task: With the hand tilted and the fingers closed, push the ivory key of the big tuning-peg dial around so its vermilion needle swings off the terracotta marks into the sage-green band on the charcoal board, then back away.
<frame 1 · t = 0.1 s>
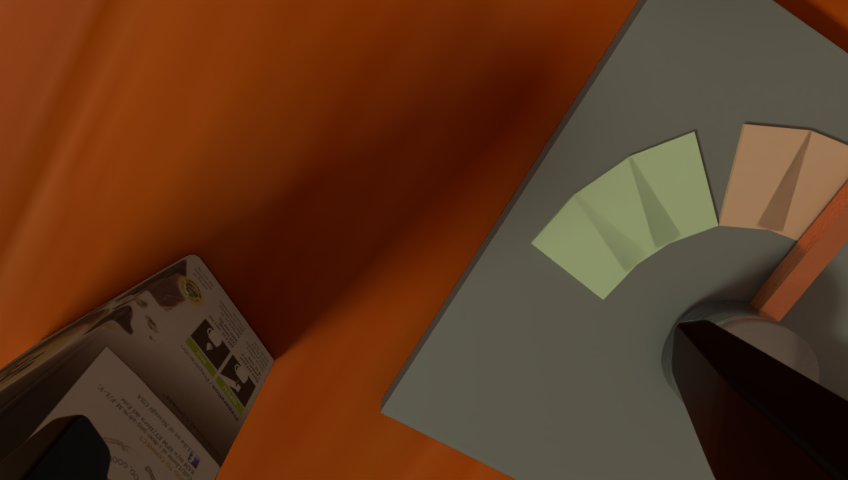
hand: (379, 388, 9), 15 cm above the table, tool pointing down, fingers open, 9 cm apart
board: (719, 321, 25), on the table
coffee box: (156, 350, 26), on the table
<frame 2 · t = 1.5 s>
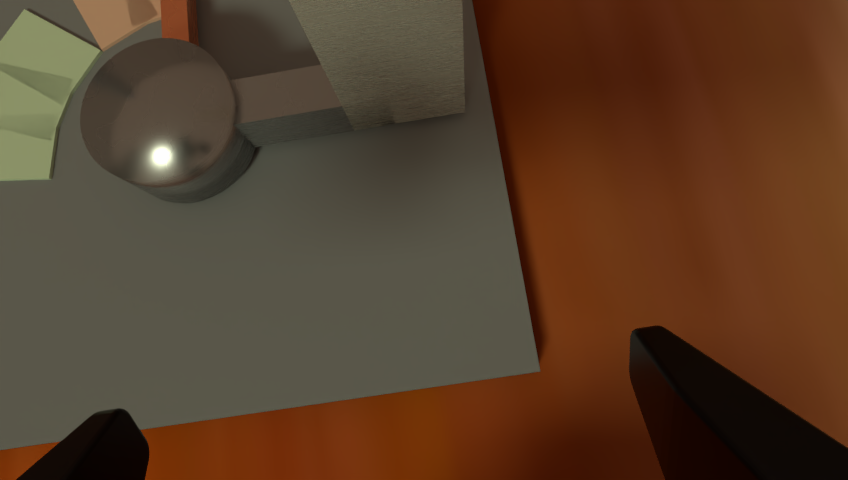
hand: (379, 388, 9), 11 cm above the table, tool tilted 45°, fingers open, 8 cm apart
board: (206, 127, 22), on the table
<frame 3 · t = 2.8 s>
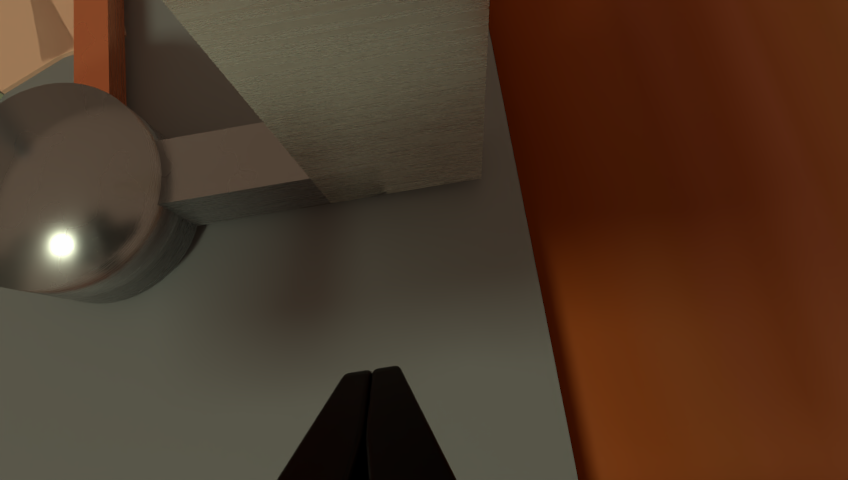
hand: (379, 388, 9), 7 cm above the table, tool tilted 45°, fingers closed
board: (139, 192, 17), on the table
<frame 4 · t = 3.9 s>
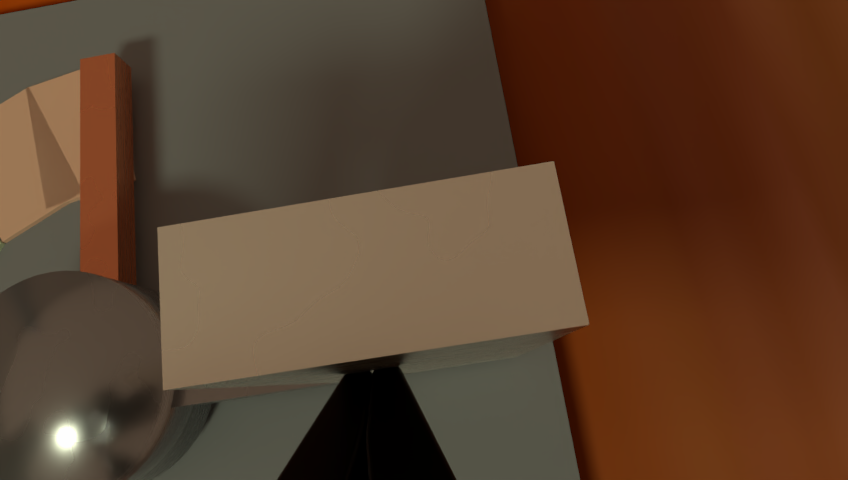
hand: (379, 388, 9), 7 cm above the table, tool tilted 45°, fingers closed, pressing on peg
board: (148, 348, 16), on the table
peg: (165, 183, 11), point 6 cm above the table, hinge at 0.0°, touching gripper
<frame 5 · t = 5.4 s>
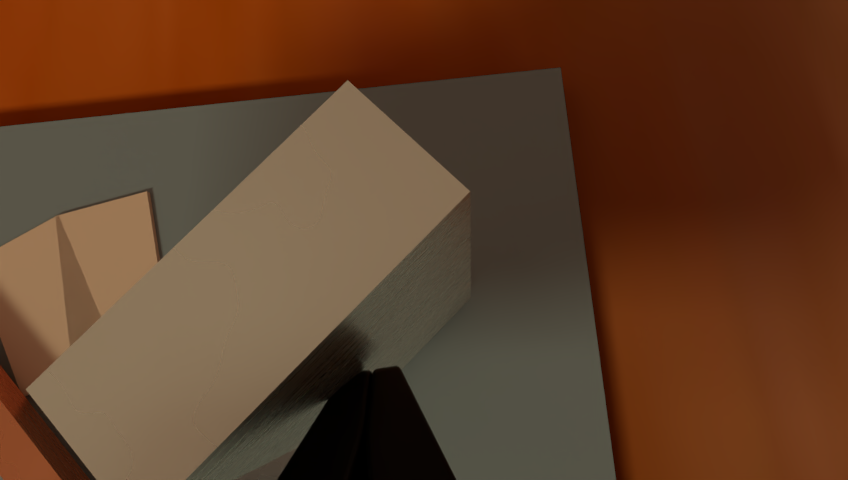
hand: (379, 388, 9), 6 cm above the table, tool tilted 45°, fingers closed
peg: (43, 367, 10), point 6 cm above the table, hinge at 41.3°, touching gripper
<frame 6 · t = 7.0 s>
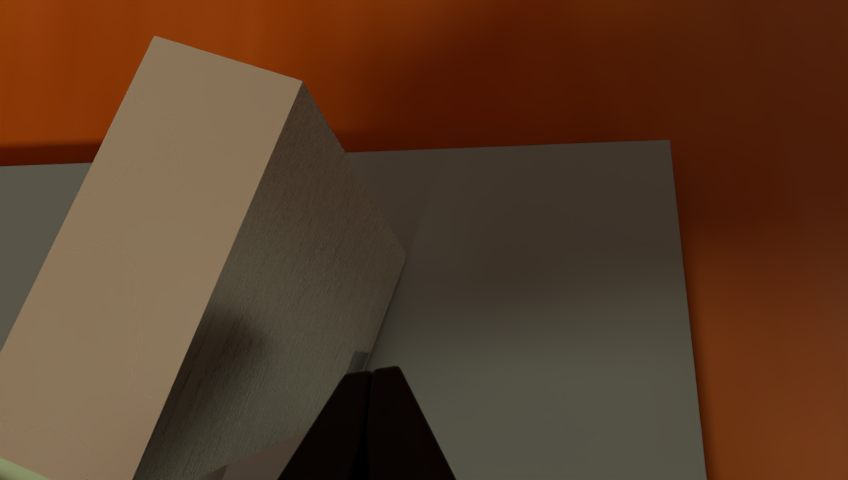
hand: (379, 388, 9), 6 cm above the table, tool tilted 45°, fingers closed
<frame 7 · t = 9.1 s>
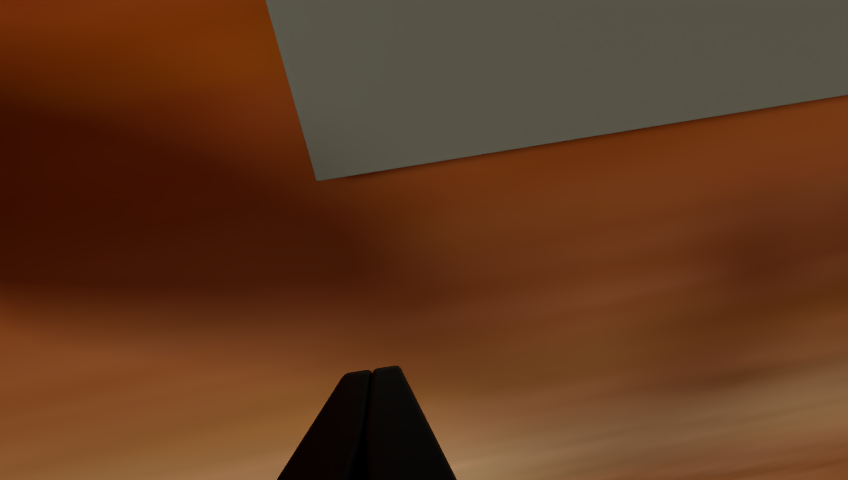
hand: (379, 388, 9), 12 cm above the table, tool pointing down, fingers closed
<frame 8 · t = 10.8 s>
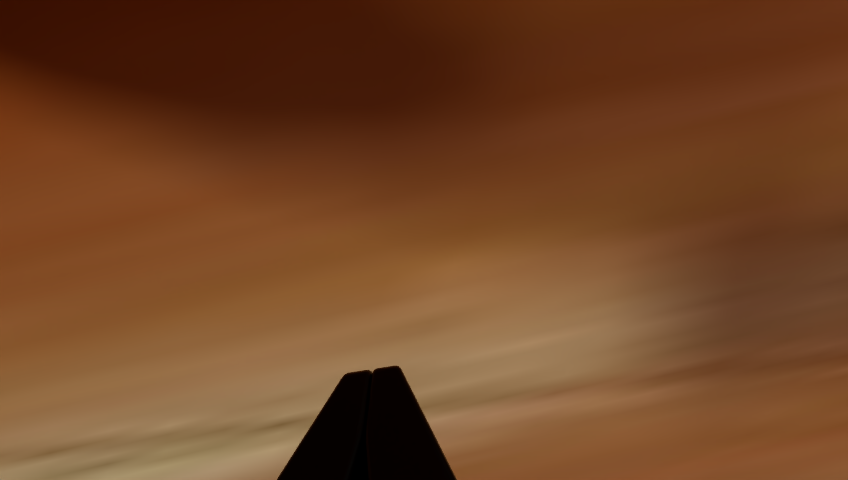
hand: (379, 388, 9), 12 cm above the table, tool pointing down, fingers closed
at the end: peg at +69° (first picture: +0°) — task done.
